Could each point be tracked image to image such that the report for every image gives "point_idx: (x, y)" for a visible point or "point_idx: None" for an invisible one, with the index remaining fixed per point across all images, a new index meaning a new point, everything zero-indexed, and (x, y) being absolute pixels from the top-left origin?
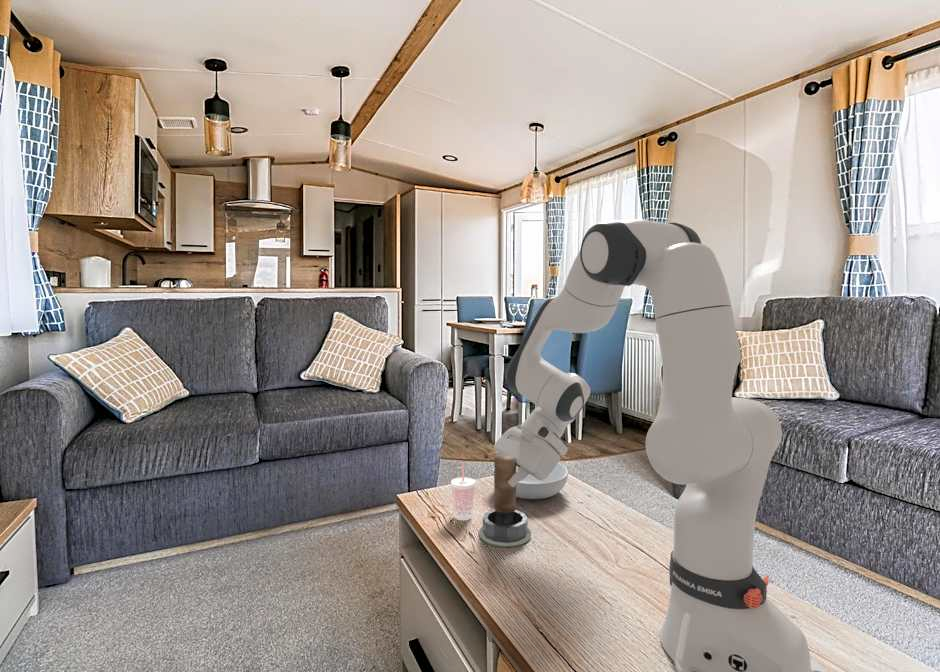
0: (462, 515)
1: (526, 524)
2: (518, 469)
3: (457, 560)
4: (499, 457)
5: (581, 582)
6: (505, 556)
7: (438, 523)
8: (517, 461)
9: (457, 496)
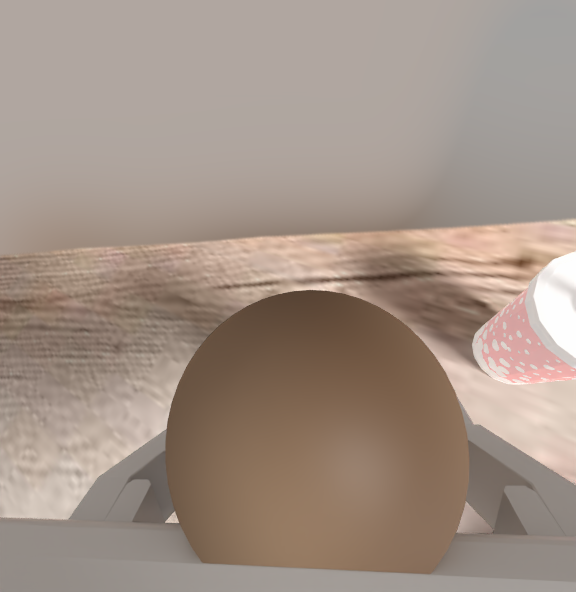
0: (480, 332)
1: None
2: (137, 491)
3: (251, 251)
4: (344, 360)
5: (9, 484)
6: None
7: (468, 265)
8: (149, 538)
9: (523, 291)
